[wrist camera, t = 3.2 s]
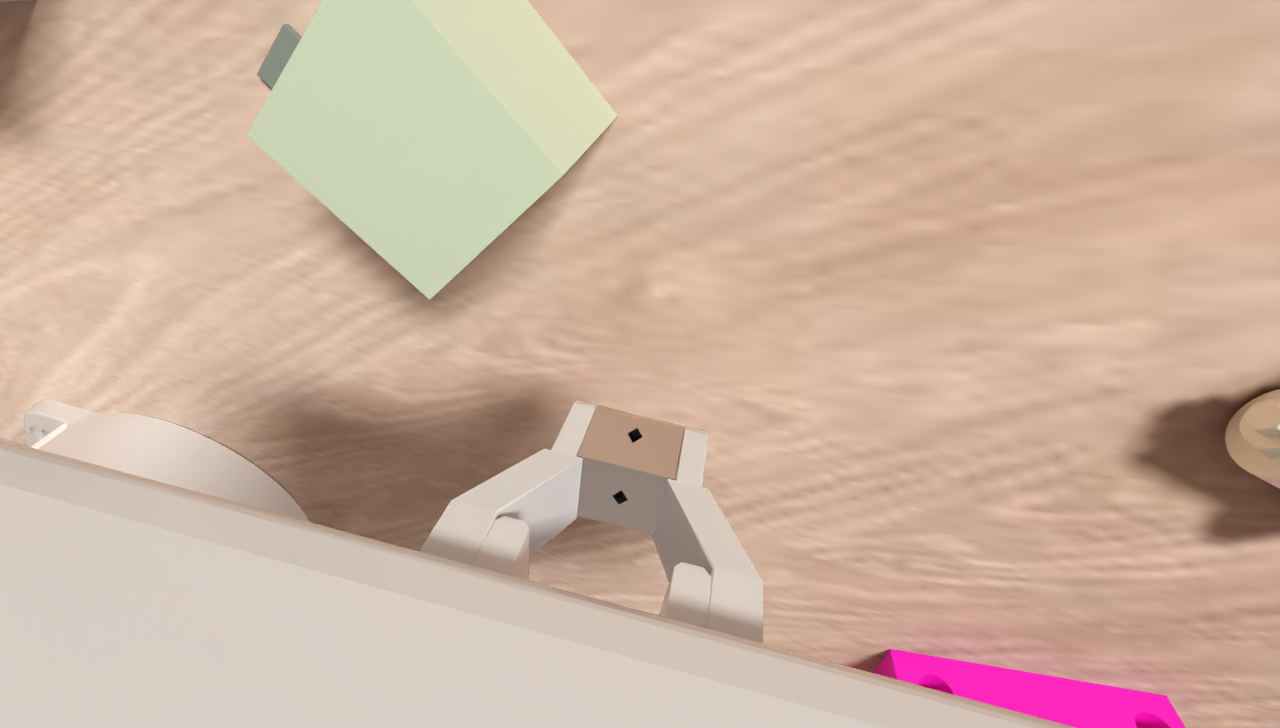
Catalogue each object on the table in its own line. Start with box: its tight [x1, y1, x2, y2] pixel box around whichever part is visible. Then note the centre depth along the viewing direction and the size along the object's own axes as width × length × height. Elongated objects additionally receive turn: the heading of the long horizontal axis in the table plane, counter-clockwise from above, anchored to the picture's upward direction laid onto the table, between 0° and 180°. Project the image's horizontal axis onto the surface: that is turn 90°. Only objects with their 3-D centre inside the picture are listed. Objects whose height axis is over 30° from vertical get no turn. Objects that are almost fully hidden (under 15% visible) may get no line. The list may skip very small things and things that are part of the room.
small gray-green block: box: [257, 24, 301, 89], centre depth 16 cm, size 2×1×1 cm, turn 131°
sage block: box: [247, 0, 617, 300], centre depth 13 cm, size 5×5×6 cm
